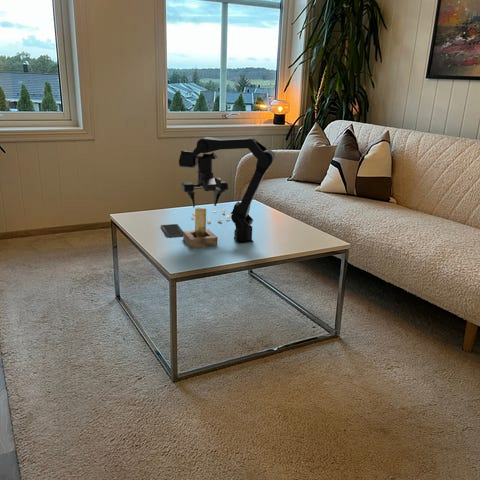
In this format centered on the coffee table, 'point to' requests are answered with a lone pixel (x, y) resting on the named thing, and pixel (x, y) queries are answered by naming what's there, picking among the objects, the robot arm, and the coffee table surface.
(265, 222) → the coffee table surface
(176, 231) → the phone
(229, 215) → the game piece set
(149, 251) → the coffee table surface
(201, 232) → the peg
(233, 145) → the robot arm
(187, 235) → the socket block
